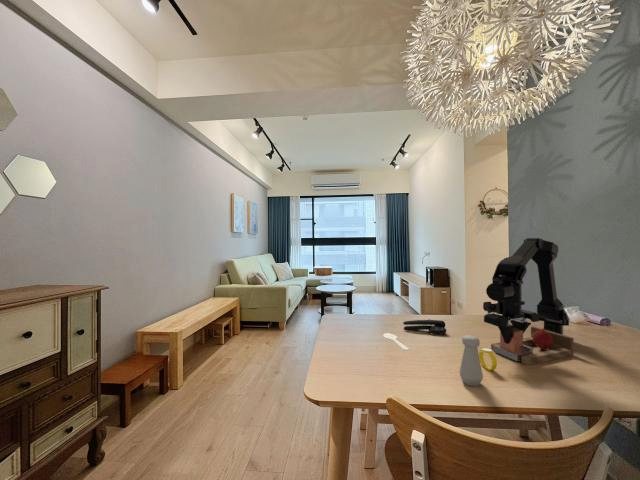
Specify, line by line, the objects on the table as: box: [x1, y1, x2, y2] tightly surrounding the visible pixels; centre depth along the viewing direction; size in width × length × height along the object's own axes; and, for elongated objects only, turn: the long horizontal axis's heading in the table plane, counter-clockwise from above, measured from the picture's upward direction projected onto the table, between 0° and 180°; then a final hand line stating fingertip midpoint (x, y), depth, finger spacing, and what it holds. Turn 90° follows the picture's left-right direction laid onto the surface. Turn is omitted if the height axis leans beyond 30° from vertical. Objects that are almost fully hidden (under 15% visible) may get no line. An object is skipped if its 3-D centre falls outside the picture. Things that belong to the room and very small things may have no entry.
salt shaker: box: [458, 334, 484, 388], centre depth 77 cm, size 6×6×13 cm
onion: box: [533, 327, 553, 351], centre depth 99 cm, size 6×6×8 cm
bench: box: [490, 326, 575, 366], centre depth 97 cm, size 22×13×6 cm, turn 108°
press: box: [493, 328, 534, 362], centre depth 94 cm, size 7×8×9 cm
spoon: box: [383, 332, 410, 351], centre depth 109 cm, size 5×18×1 cm, turn 11°
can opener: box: [402, 318, 447, 336], centre depth 120 cm, size 18×7×6 cm, turn 69°
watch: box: [478, 347, 498, 372], centre depth 85 cm, size 6×3×6 cm, turn 9°
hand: (511, 342), depth 94 cm, fingers closed on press, 4 cm apart
